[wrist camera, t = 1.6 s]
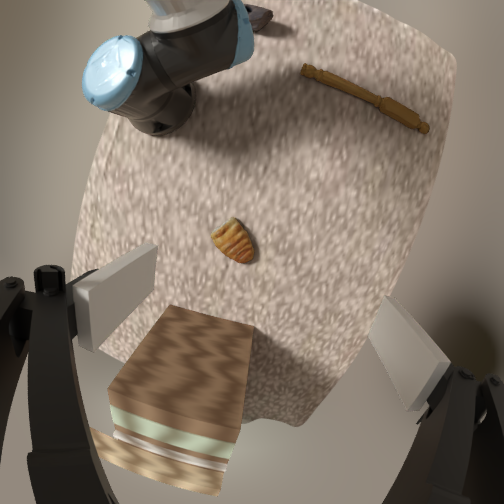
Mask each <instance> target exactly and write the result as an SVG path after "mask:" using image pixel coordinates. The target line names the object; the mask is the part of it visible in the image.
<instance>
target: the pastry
mask: <svg viewBox="0 0 504 504" xmlns="http://www.w3.org/2000/svg"><path fill="white" fill-rule="evenodd" d="M211 238H212V239H213V242H214V244H215V245H216V247H217V248H218V249H219V250H220V251H221V252H222V253H223V254H225V255H226V256H227V257H229V258H230V259H233V260H235V261H236V262H238V263H246V262H248V261H250V260H252V259H253V256H254V249H253V246H252V242H251V240H250V238H249V236H248V233H247V231H245V230H244V229H243V227H242V226H241V225H240V223H239V222H238V221H237V219H236V218H235V217H231V218H230V219H228V220H227V221H226V222H225V223H223V224H222V225H221V226H220V227H217V228H216V229H215V230H213V232H212V234H211Z"/></svg>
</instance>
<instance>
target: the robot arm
mask: <svg viewBox="0 0 504 504" xmlns="http://www.w3.org/2000/svg"><path fill="white" fill-rule="evenodd" d="M145 2H146V3H147V5H148V6H149V8H150V9H151V11H152V12H153V13H152V15H151V17H150V20H149V23H148V26H149V28H150V31H148V32H146V33H144V34H143V35H141V36H139V37H137V38H135V37H132V36H127V35H126V36H122V35H120V36H116V37H113V38H111V39H109V40H107V41H106V42H104V43H103V44H102V45H100V46H99V47H98V48H97V49H96V51H95V52H94V53H93V54H92V56H91V57H90V59H89V60H88V62H87V66H86V68H85V70H84V73H83V78H82V89H83V93H84V95H85V98H86V99H87V100H88V101H89V102H90V103H91V104H93V105H95V106H97V107H98V108H100V109H101V110H104V111H108V112H111V113H114V114H118V115H121V116H124V117H127V118H128V119H129V120H130V122H131V123H132V125H133V126H134V127H135V128H136V129H138V130H139V131H141V132H143V133H146V134H149V135H164V134H168V133H170V132H173V131H174V130H176V129H178V128H179V127H180V126H182V125H183V124H184V123H185V122H186V120H187V119H188V118H189V116H190V115H191V113H192V111H193V109H194V105H195V101H196V93H195V88H194V86H193V84H192V82H194V81H197V80H199V79H202V78H204V77H207V76H209V75H212V74H215V73H217V72H220V71H223V70H226V69H230V68H232V67H233V66H235V65H238V64H240V63H243V62H245V61H247V60H249V59H250V58H251V56H252V55H253V52H254V36H253V30H252V26H251V23H250V22H249V16H248V13H247V10H246V8H245V6H244V4H243V3H242V1H241V0H145ZM157 249H158V245H155V244H151V243H144V244H142V245H140V246H138V247H137V248H135V249H133V250H131V251H129V252H128V253H126V254H124V255H122V256H121V257H119V258H117V259H115V260H114V261H112V262H110V263H109V264H107V265H105V266H103V267H102V268H100V269H95V270H91V271H88V272H86V273H84V274H83V275H82V276H79V277H78V278H77V279H74V280H73V281H71V282H69V283H68V284H65V271H64V269H63V268H62V267H60V266H57V265H44V266H40V267H38V268H37V269H35V270H34V281H35V289H36V293H34V292H29V291H25V286H24V281H23V280H22V279H20V278H17V277H6V278H5V279H3V280H1V281H0V462H1V454H2V447H3V441H4V435H5V430H6V426H7V421H8V416H9V412H10V408H11V404H12V401H13V397H14V393H15V390H16V387H17V383H18V380H19V377H20V374H21V371H22V368H23V365H24V362H25V360H26V357H27V354H28V406H29V421H30V431H31V439H32V448H33V450H32V452H30V453H28V455H27V465H28V471H29V475H30V480H31V485H32V489H33V493H34V496H35V500H36V504H119V503H118V501H117V499H116V497H115V495H114V493H113V491H112V489H111V486H110V484H109V482H108V479H107V477H106V474H105V472H104V469H103V467H102V464H101V461H100V459H99V456H98V453H97V450H96V447H95V444H94V441H93V438H92V434H91V431H90V427H89V424H88V420H87V417H86V413H85V409H84V405H83V400H82V396H81V391H80V387H79V381H78V376H77V370H76V364H75V357H74V350H73V343H72V339H73V338H74V337H75V336H76V335H77V336H78V342H79V346H80V347H82V348H85V349H86V350H89V351H91V352H93V353H94V352H95V351H96V350H97V349H98V348H99V347H100V345H101V344H102V343H103V342H104V341H105V340H106V339H107V338H108V337H109V336H110V335H111V334H112V333H113V332H114V330H115V329H116V328H117V327H118V326H119V325H120V324H121V323H122V322H123V321H124V320H125V319H126V318H127V317H128V316H129V315H130V314H131V313H132V312H133V311H134V310H135V309H136V308H137V307H138V305H139V304H140V303H141V302H142V301H143V300H144V299H145V298H146V297H147V296H148V295H149V294H150V293H151V292H152V291H153V290H154V280H155V269H156V259H157ZM368 337H369V339H370V341H371V343H372V344H373V346H374V348H375V350H376V352H377V354H378V356H379V358H380V359H381V361H382V363H383V365H384V367H385V369H386V371H387V373H388V375H389V377H390V379H391V381H392V382H393V385H394V386H395V388H396V391H397V393H398V395H399V397H400V399H401V401H402V403H403V405H404V407H405V409H406V411H419V410H420V409H421V408H422V406H423V405H424V403H425V402H426V401H427V402H428V404H429V408H428V409H427V410H426V411H425V413H424V414H423V415H422V417H421V418H420V419H419V420H418V422H417V423H416V424H419V423H420V422H421V424H420V427H419V429H418V432H417V435H416V437H415V439H414V442H413V444H412V447H411V449H410V451H409V453H408V456H407V458H406V460H405V462H404V464H403V466H402V468H401V470H400V472H399V474H398V476H397V478H396V480H395V482H394V484H393V486H392V487H391V489H390V491H389V493H388V494H387V496H386V498H385V499H384V501H383V503H382V504H504V384H503V382H502V381H501V380H500V378H499V377H498V376H497V375H493V374H486V376H485V377H484V379H483V381H482V382H479V381H476V379H475V376H474V374H473V373H472V372H471V371H470V370H468V369H466V368H464V367H459V366H457V367H454V366H453V365H452V363H451V362H450V360H449V359H448V358H447V357H446V355H445V354H444V353H443V352H442V351H441V349H440V348H439V347H438V346H437V345H436V344H435V342H434V341H433V340H432V339H431V338H430V336H429V335H428V334H427V333H426V332H425V331H424V330H423V328H422V327H421V326H420V325H419V324H418V323H417V322H416V320H415V319H413V317H412V316H411V315H410V314H409V313H408V312H407V310H405V308H404V307H403V306H402V305H401V304H400V303H399V302H398V301H397V300H396V299H395V298H394V297H389V296H384V297H383V300H382V302H381V305H380V307H379V310H378V312H377V315H376V317H375V320H374V322H373V324H372V327H371V329H370V331H369V333H368ZM28 352H29V353H28ZM486 412H487V414H486V417H485V419H484V420H483V421H482V423H480V419H481V418H482V417H483V416H484V414H485V413H486Z"/></svg>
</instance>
